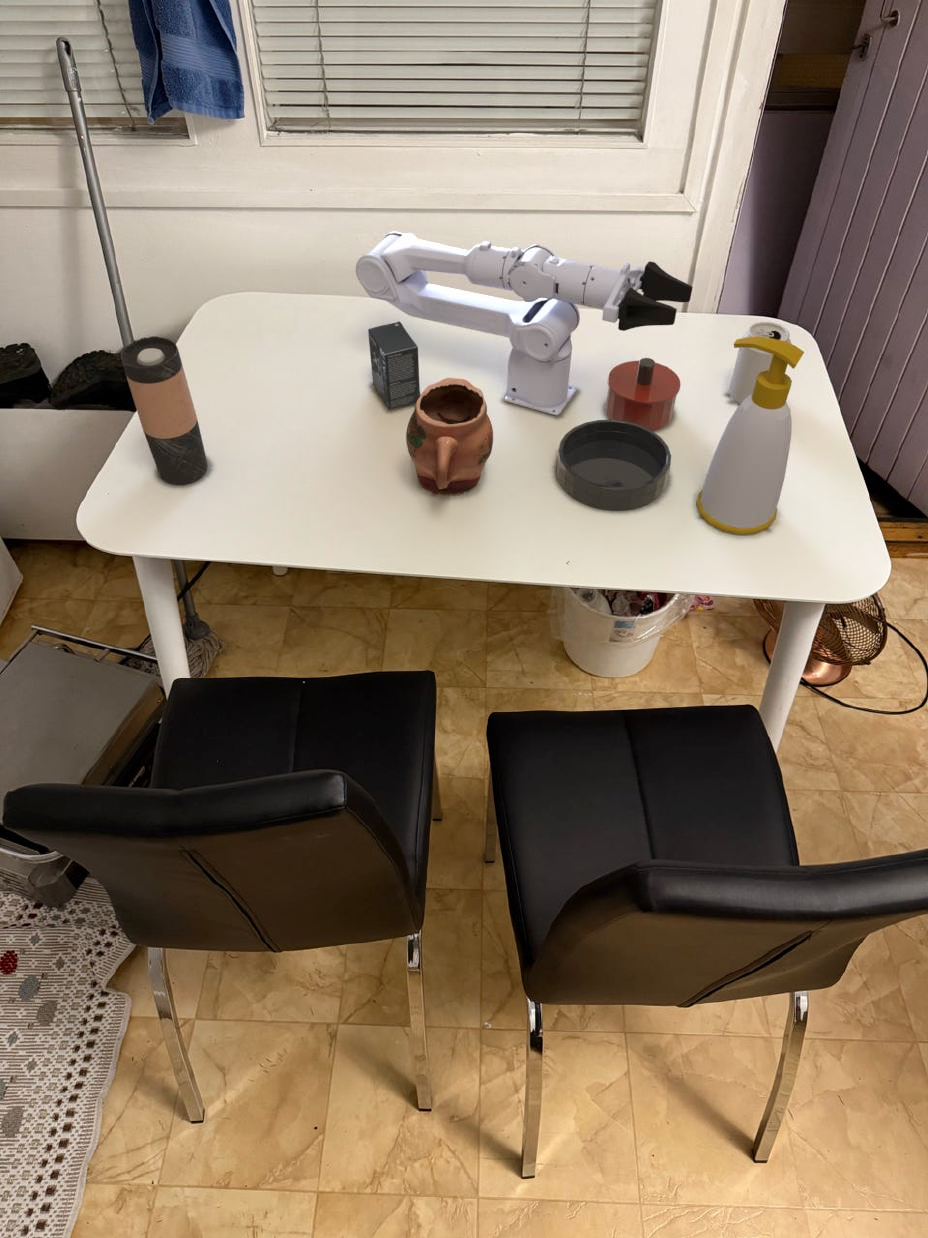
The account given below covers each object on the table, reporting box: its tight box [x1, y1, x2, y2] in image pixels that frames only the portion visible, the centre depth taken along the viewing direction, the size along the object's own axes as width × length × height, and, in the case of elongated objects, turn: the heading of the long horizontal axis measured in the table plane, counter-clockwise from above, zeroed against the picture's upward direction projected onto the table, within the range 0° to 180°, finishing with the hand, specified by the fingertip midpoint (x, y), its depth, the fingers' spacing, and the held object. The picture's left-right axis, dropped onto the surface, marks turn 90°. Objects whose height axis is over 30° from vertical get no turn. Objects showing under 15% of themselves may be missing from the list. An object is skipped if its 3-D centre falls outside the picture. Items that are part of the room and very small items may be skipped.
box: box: [367, 321, 421, 411], centre depth 145 cm, size 8×6×11 cm
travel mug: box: [120, 336, 208, 486], centre depth 129 cm, size 8×8×20 cm
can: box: [728, 321, 792, 405], centre depth 144 cm, size 8×8×12 cm
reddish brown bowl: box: [605, 387, 677, 432], centre depth 144 cm, size 10×10×5 cm
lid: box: [606, 357, 682, 405], centre depth 141 cm, size 11×11×4 cm
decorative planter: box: [405, 377, 494, 496], centre depth 129 cm, size 20×12×14 cm, turn 0°
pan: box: [556, 419, 672, 512], centre depth 134 cm, size 16×16×4 cm
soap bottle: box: [696, 336, 805, 535], centre depth 121 cm, size 11×12×26 cm
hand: (683, 305), depth 127 cm, fingers open, 7 cm apart
